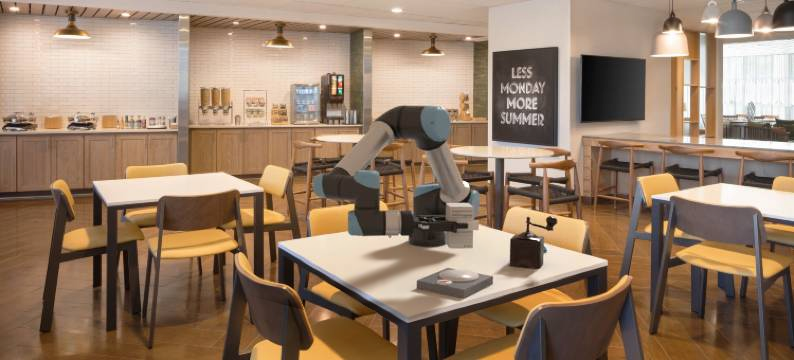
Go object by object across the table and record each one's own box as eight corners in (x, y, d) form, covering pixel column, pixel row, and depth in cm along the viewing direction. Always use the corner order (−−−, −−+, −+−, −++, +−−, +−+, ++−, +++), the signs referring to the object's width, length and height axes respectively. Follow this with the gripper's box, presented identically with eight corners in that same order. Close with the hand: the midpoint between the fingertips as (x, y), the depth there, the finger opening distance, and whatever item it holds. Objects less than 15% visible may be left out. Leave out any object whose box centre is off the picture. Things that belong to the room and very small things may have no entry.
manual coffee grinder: (507, 266, 212) (509, 214, 210) (514, 259, 222) (515, 209, 220) (554, 271, 206) (556, 217, 204) (559, 263, 216) (561, 212, 214)
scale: (416, 288, 185) (416, 278, 185) (447, 275, 200) (447, 266, 200) (464, 298, 176) (464, 287, 176) (492, 283, 191) (493, 274, 191)
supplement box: (444, 243, 192) (445, 202, 190) (468, 243, 192) (469, 202, 191) (448, 248, 184) (449, 206, 183) (473, 248, 185) (474, 206, 184)
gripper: (396, 228, 197) (468, 228, 198) (402, 242, 177) (482, 242, 178) (397, 205, 196) (469, 205, 198) (402, 216, 176) (483, 216, 178)
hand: (475, 222), depth 188 cm, fingers closed on supplement box, 7 cm apart
